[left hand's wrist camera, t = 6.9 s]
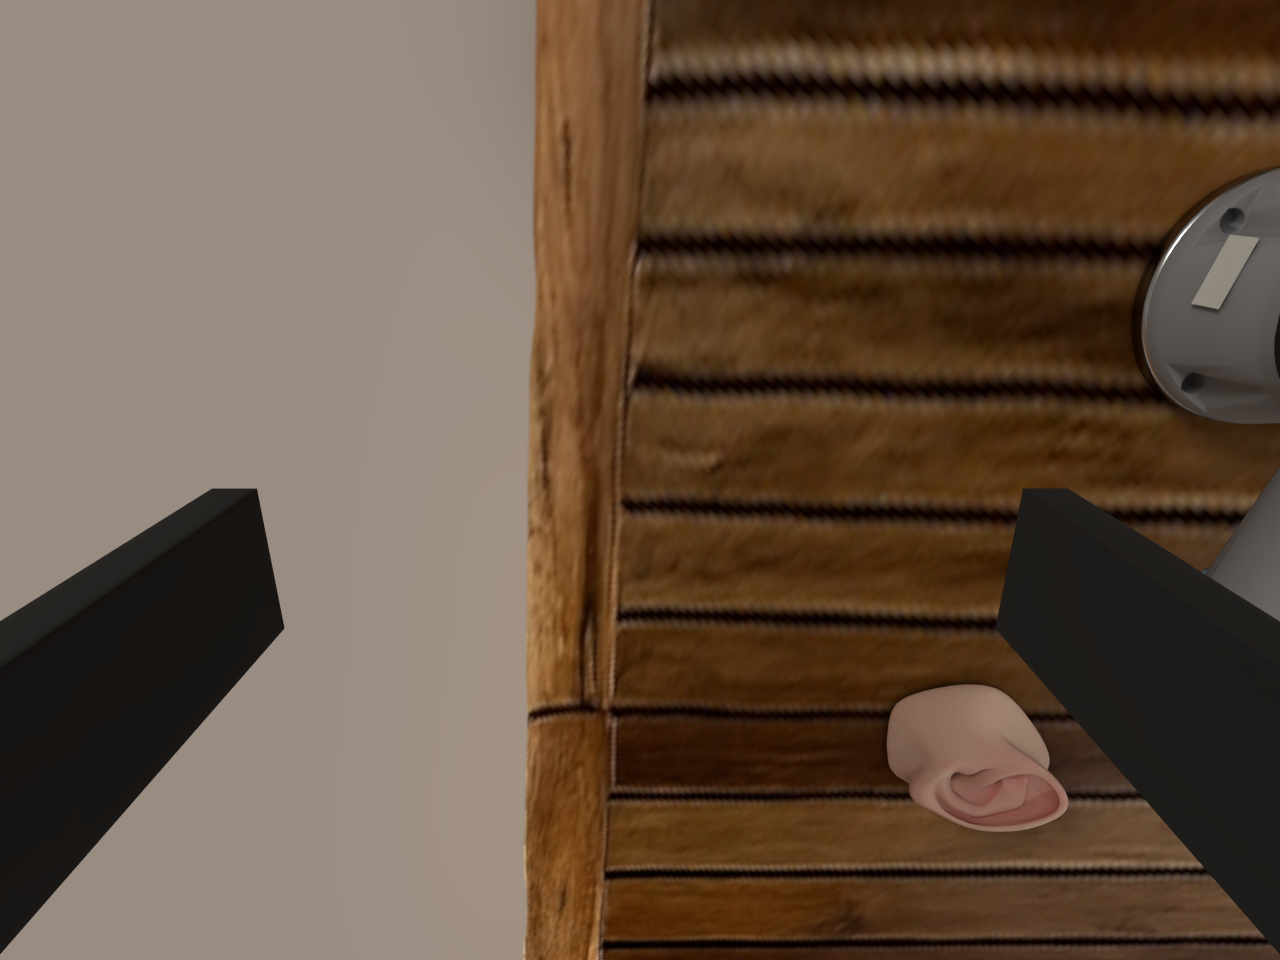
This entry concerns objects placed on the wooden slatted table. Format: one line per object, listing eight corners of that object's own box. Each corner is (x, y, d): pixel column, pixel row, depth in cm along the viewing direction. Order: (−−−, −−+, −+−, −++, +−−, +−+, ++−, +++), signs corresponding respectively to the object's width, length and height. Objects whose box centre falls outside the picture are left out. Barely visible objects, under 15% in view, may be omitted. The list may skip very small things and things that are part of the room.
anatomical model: (878, 750, 51) (1032, 686, 49) (862, 714, 55) (1004, 653, 53) (943, 871, 55) (1088, 816, 53) (924, 830, 59) (1058, 777, 57)
